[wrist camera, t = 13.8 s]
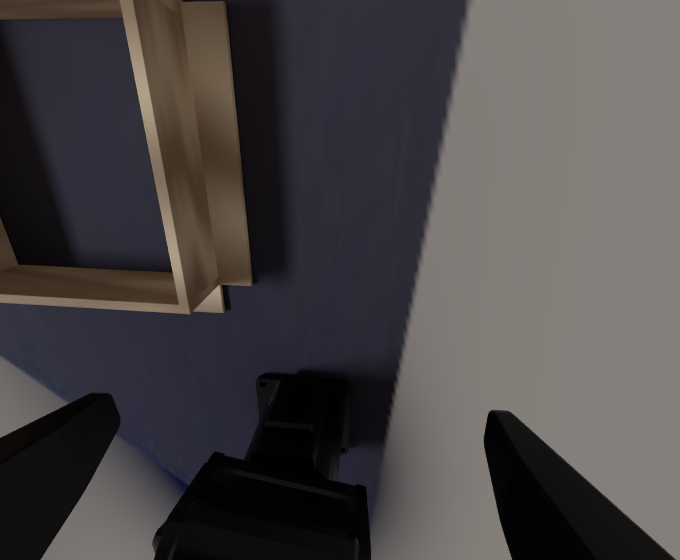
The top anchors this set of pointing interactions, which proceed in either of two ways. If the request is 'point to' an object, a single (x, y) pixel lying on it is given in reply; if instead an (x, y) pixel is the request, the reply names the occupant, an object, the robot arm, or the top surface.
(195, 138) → the light brown piece
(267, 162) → the top surface
